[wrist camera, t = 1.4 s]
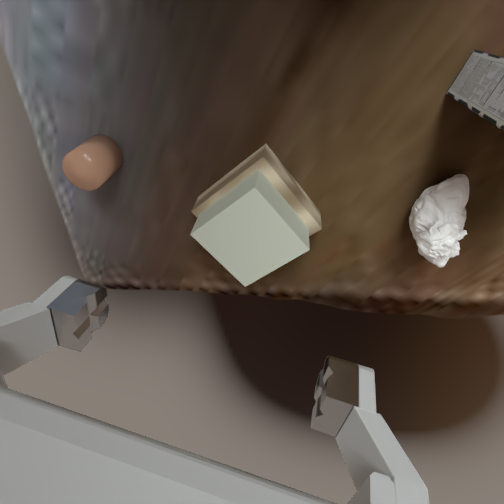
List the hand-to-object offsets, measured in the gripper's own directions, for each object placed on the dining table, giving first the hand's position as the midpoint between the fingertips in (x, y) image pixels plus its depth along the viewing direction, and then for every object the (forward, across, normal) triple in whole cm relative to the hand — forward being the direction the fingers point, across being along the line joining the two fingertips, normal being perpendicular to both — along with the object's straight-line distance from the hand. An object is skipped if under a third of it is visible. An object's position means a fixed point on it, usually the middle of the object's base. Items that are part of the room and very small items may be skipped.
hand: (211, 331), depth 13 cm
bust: (+39, -18, +9) cm, 44 cm away
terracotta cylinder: (+33, +26, +10) cm, 43 cm away
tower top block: (+31, +4, +13) cm, 34 cm away
